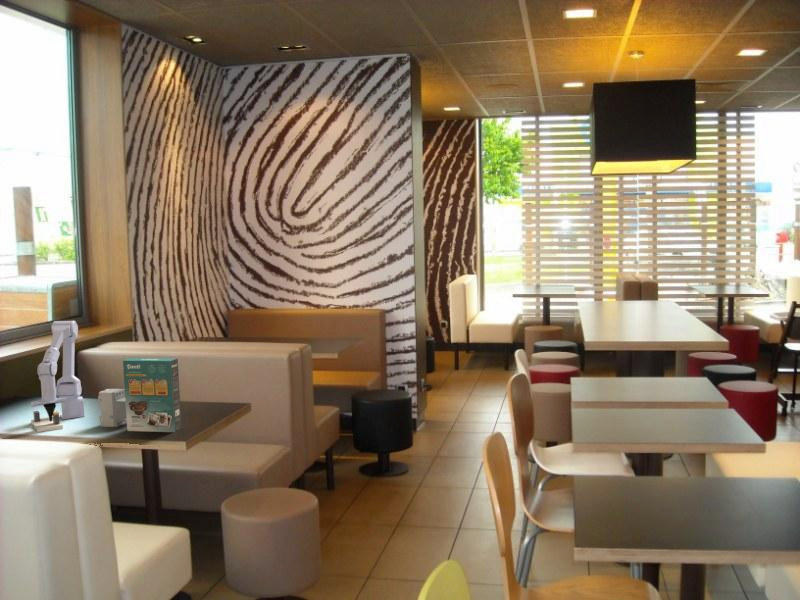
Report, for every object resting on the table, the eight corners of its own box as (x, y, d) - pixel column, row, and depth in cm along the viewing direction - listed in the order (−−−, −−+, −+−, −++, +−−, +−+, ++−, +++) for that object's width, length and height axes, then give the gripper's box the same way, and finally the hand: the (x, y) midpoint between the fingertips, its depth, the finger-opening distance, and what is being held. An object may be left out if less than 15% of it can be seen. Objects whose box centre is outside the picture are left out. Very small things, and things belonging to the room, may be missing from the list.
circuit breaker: (130, 427, 366) (128, 392, 364) (100, 426, 369) (97, 392, 367) (139, 422, 373) (137, 389, 372) (109, 422, 376) (107, 388, 374)
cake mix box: (181, 428, 360) (177, 358, 357) (174, 432, 354) (170, 360, 351) (134, 427, 365) (130, 358, 362) (127, 430, 359) (122, 360, 356)
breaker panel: (55, 419, 384) (54, 407, 383) (62, 428, 367) (61, 416, 366) (31, 423, 379) (30, 411, 378) (37, 432, 362) (36, 419, 361)
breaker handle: (58, 421, 372) (57, 411, 372) (59, 423, 369) (58, 412, 368) (53, 422, 371) (52, 411, 371) (54, 424, 368) (53, 413, 367)
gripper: (31, 393, 360) (34, 425, 362) (68, 389, 368) (70, 420, 369) (29, 391, 366) (31, 422, 368) (65, 386, 374) (67, 417, 375)
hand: (50, 420), depth 369 cm, fingers closed
